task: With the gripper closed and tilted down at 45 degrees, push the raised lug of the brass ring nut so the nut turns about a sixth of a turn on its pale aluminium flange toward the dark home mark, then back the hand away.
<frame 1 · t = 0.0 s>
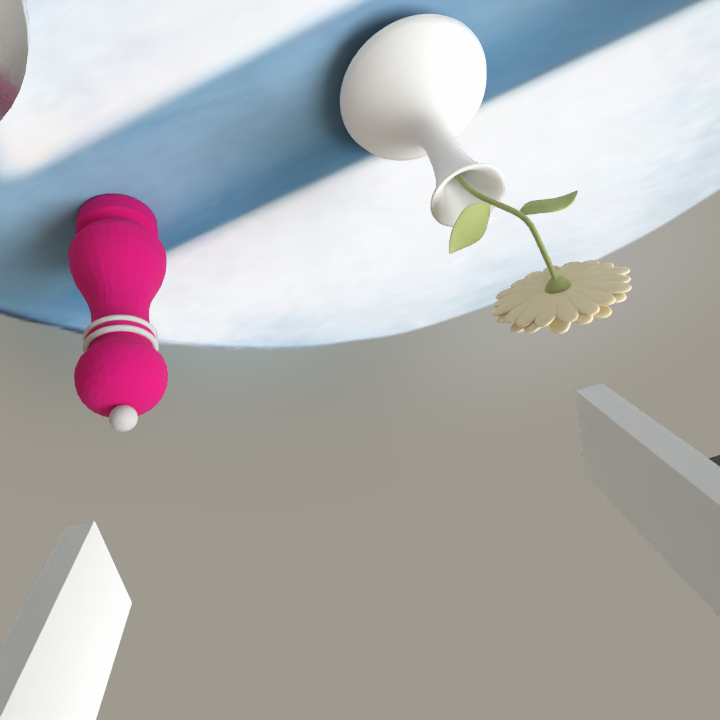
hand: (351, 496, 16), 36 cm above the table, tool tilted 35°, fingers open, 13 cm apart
flower in vase: (416, 78, 47), on the table
pepper mill: (117, 221, 51), on the table
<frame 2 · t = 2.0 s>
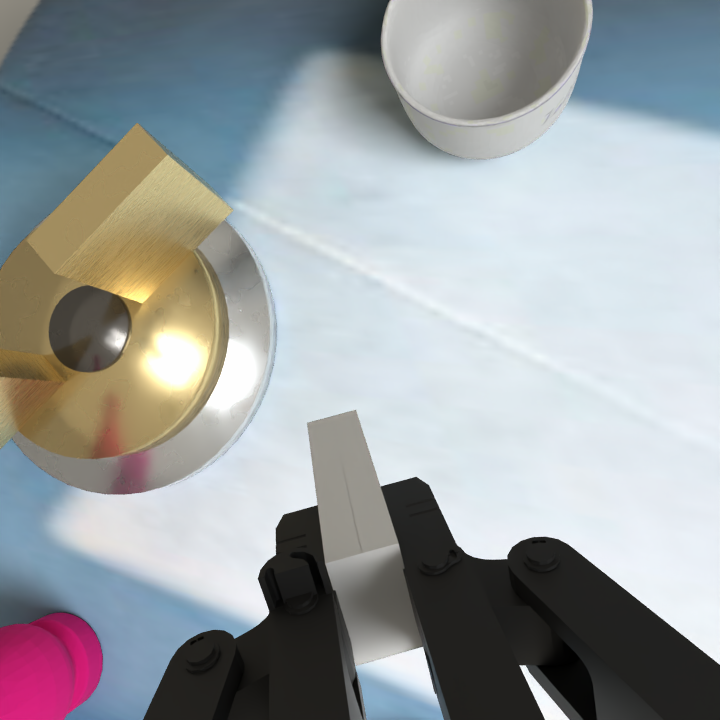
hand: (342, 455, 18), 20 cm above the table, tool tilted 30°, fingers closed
ring nut: (63, 322, 35), point 7 cm above the table, hinge at 0.0°
teacup: (481, 77, 40), on the table
flange: (132, 338, 42), on the table
pepper mill: (64, 658, 41), on the table
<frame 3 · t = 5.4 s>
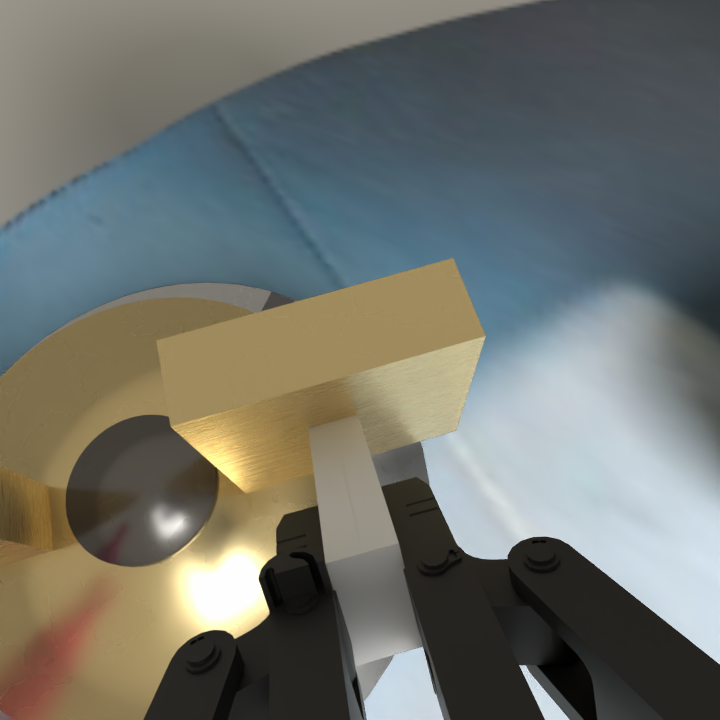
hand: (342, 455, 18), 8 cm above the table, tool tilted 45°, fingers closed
ring nut: (113, 472, 20), point 7 cm above the table, hinge at 2.2°, touching gripper
flange: (184, 510, 26), on the table
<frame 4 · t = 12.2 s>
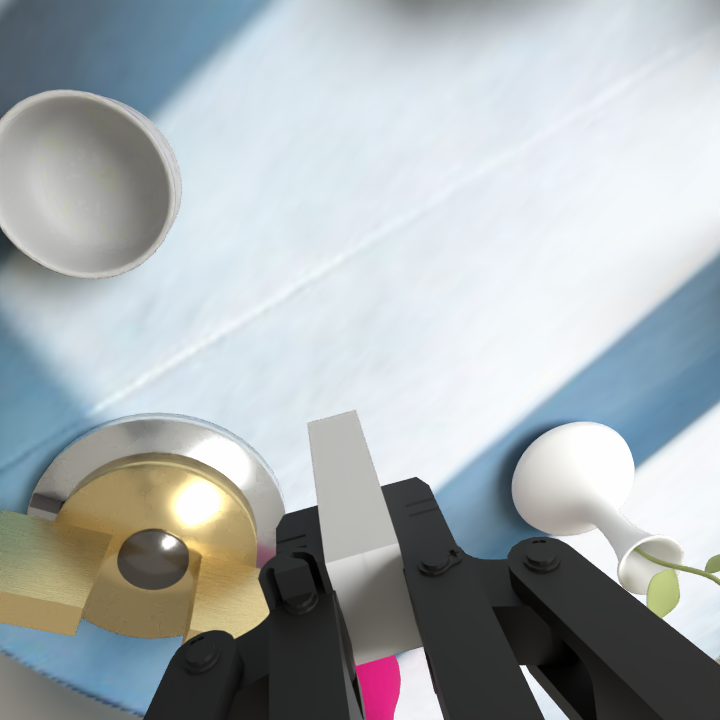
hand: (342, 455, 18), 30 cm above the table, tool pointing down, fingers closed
ring nut: (147, 580, 46), point 7 cm above the table, hinge at 55.6°
teacup: (91, 170, 43), on the table
flange: (163, 524, 52), on the table
flower in vase: (571, 466, 56), on the table
pepper mill: (354, 639, 60), on the table
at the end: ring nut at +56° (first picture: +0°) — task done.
